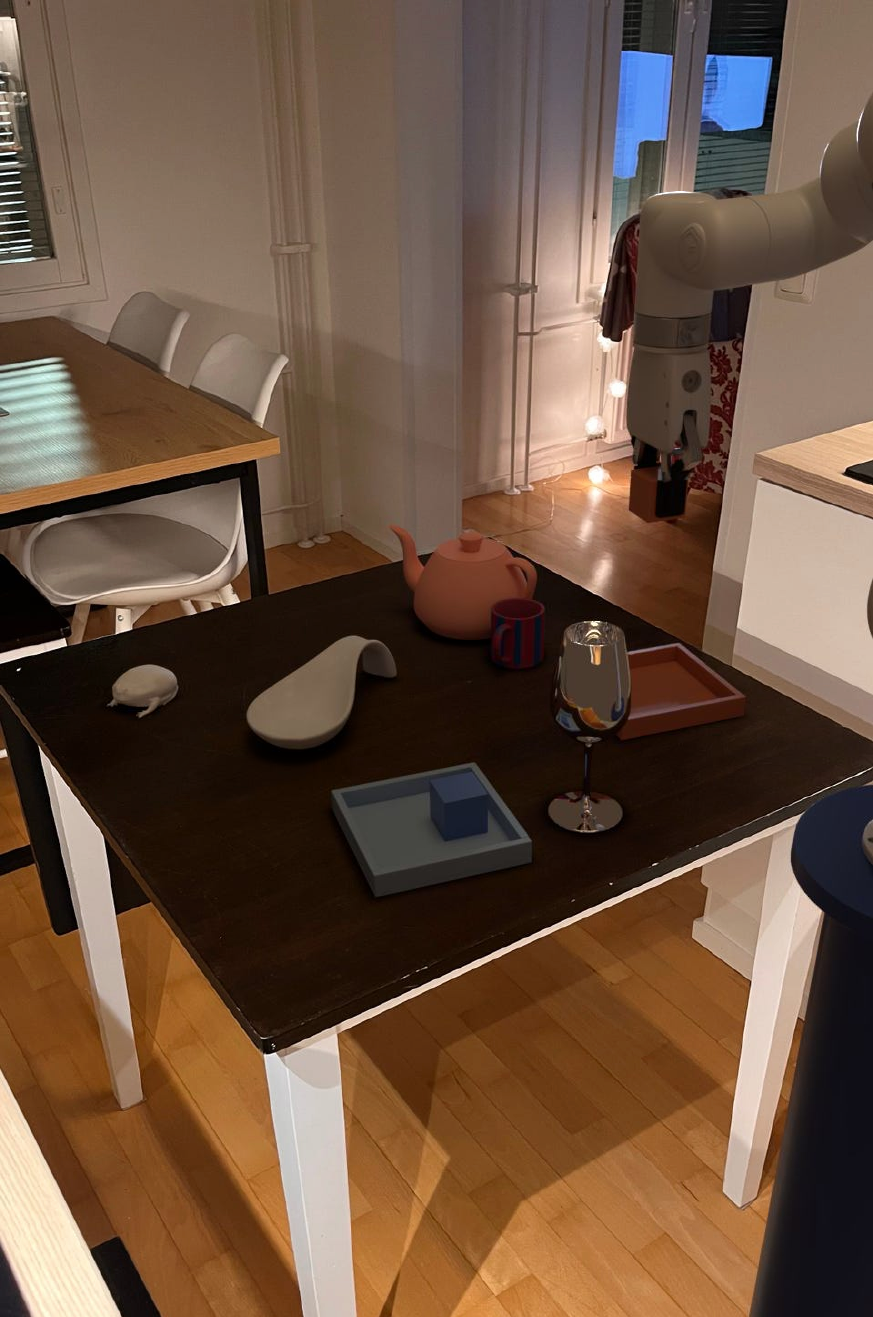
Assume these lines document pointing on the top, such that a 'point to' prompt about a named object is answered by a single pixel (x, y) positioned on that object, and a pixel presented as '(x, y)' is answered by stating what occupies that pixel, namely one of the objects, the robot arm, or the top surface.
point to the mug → (517, 633)
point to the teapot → (463, 583)
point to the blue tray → (422, 833)
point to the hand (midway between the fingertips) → (657, 506)
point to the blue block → (458, 806)
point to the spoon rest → (317, 695)
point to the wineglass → (590, 714)
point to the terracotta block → (647, 494)
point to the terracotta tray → (676, 692)
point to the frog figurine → (145, 688)
